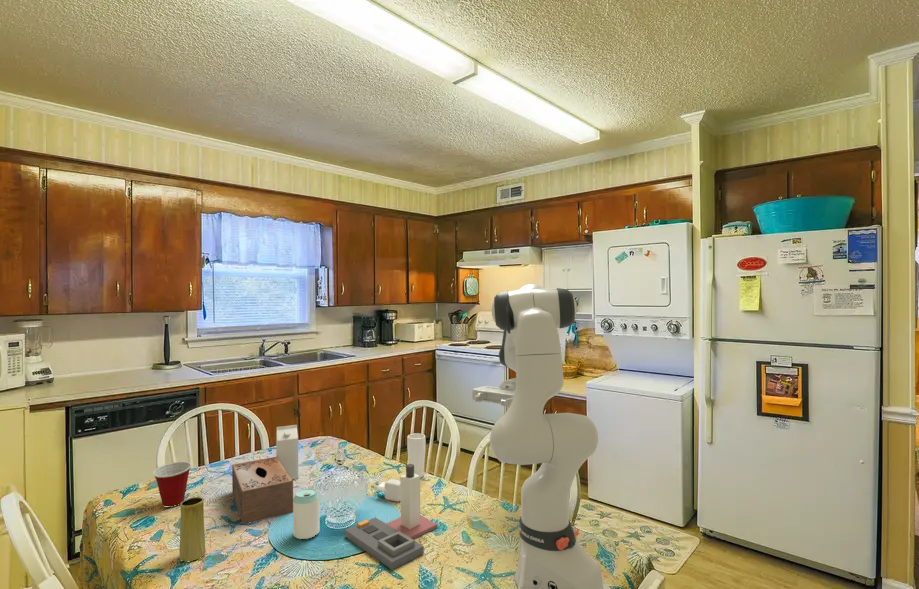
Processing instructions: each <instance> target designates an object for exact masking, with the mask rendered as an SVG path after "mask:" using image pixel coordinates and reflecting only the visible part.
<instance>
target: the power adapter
mask: <svg viewBox="0 0 919 589" xmlns="http://www.w3.org/2000/svg"><path fill="white" fill-rule="evenodd" d="M370 487H371V489H376V491H377V492H381V493H384V499H385V500H387V501H391V502H397V503H398V502H401V495H400V480H399V479H394V478H389V479H388V480H386V481H382V482H381V483H380V482H375V485H371V486H370Z"/></svg>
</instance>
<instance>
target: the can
mask: <svg viewBox="0 0 919 589" xmlns="http://www.w3.org/2000/svg"><path fill="white" fill-rule="evenodd" d="M292 517H293V519H292V522H293V523H292V525H293V527H292V528H293V529H292V530H293V533H292V534H293V537H294V538H296V539H298V540H301V539H306V540H310V539H312V537H313V538H315V535H316V536H317V535H318V534H319V533H320V531H321V530H320V519H321V518H320V495H319V493H318V490H317V489H316V488H312V487H307V488H302V489H299V490H297V491H296V492H295V496H293V512H292ZM309 538H310V539H309Z"/></svg>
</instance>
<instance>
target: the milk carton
mask: <svg viewBox="0 0 919 589" xmlns="http://www.w3.org/2000/svg"><path fill="white" fill-rule="evenodd" d="M275 433H276V434H275V438H276V440H275V441H276V442H275V448H276V451H275V452H276V453H275V457H276V456H277V458H278V459H279V461H280V462H281V464H282V465H283V467H284V468H285V470H286V471H287V472H288V474H289V475H290V477H291V478H292V480H296V479H297V480H298V479H299V433H298V425H297V424H293V425H292V424H291V425H285V426H276V432H275Z"/></svg>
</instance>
